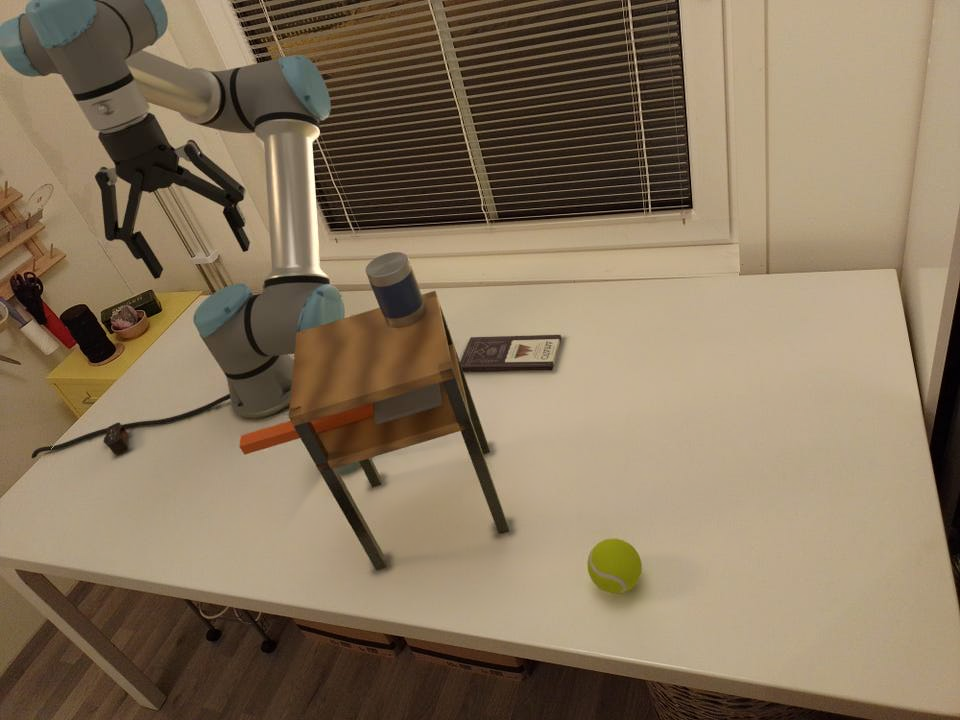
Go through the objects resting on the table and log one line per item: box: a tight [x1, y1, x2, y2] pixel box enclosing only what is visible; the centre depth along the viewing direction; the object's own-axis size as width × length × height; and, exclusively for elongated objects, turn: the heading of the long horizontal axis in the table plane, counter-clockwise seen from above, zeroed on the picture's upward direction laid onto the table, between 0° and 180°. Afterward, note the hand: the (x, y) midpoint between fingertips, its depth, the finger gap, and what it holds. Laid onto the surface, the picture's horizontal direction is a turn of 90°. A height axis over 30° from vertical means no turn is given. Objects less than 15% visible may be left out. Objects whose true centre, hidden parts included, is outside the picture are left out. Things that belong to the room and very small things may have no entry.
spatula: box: [238, 383, 443, 456], centre depth 92 cm, size 27×6×2 cm, turn 99°
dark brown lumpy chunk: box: [103, 422, 129, 456], centre depth 139 cm, size 5×7×3 cm, turn 25°
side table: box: [288, 290, 510, 571], centre depth 99 cm, size 20×18×31 cm
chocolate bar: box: [459, 334, 562, 372], centre depth 131 cm, size 9×1×18 cm
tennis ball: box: [587, 538, 643, 594], centre depth 88 cm, size 7×7×7 cm
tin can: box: [365, 251, 426, 328], centre depth 91 cm, size 6×6×8 cm
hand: (203, 260), depth 104 cm, fingers open, 13 cm apart
